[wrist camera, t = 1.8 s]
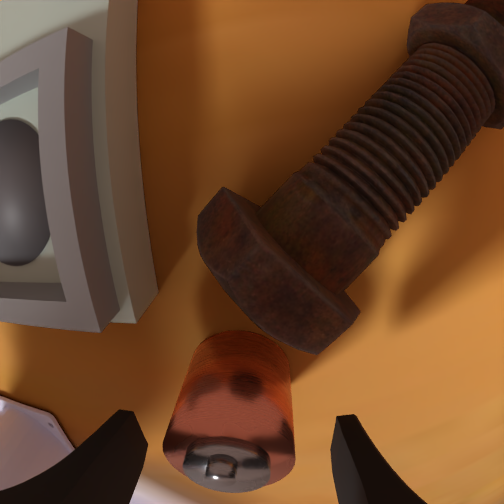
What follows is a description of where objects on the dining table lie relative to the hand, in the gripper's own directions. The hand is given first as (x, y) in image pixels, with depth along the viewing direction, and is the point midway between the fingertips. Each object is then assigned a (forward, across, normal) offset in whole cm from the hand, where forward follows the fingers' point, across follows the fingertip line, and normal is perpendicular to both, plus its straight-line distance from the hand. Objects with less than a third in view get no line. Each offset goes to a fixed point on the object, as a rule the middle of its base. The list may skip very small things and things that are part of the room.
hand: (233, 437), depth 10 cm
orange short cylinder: (+4, 0, 0) cm, 4 cm away
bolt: (+4, -7, -10) cm, 13 cm away
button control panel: (+4, +9, -11) cm, 15 cm away
